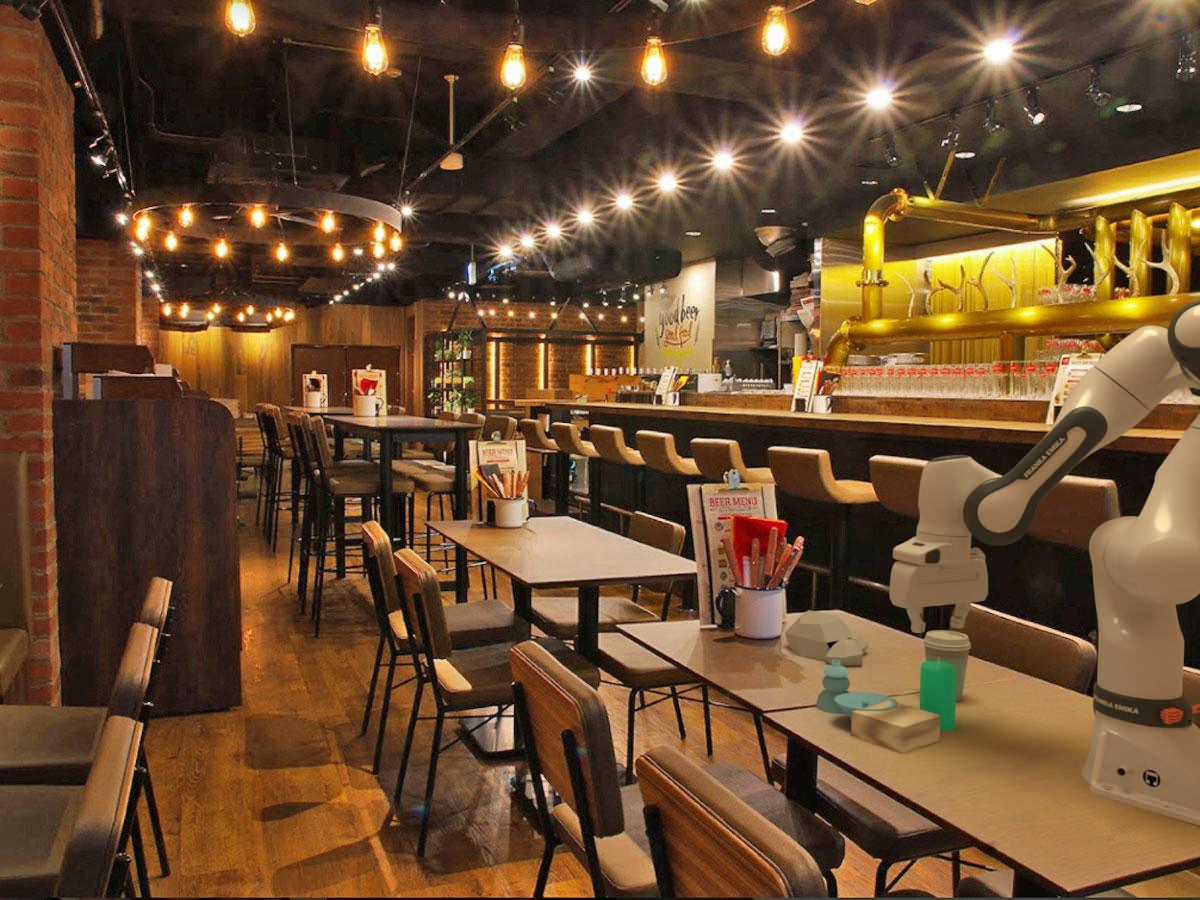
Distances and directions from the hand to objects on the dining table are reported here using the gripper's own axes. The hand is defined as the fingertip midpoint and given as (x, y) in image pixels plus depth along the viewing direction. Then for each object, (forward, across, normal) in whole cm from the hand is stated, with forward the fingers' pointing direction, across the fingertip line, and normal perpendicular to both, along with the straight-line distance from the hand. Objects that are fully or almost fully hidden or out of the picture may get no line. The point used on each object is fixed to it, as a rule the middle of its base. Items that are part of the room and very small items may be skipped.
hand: (937, 629), depth 170 cm
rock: (+18, -15, -43) cm, 49 cm away
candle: (+17, -1, +1) cm, 17 cm away
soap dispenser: (+17, +11, -8) cm, 22 cm away
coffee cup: (+17, -15, -10) cm, 25 cm away
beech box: (+17, +11, +3) cm, 21 cm away
